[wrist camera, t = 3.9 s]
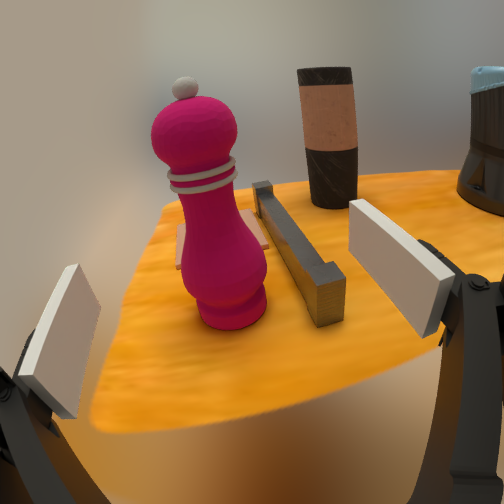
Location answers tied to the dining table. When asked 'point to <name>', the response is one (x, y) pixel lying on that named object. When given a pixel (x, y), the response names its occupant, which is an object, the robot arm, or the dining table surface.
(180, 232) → the end tile
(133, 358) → the dining table surface
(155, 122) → the pepper mill
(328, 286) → the handrail
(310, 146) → the travel mug
